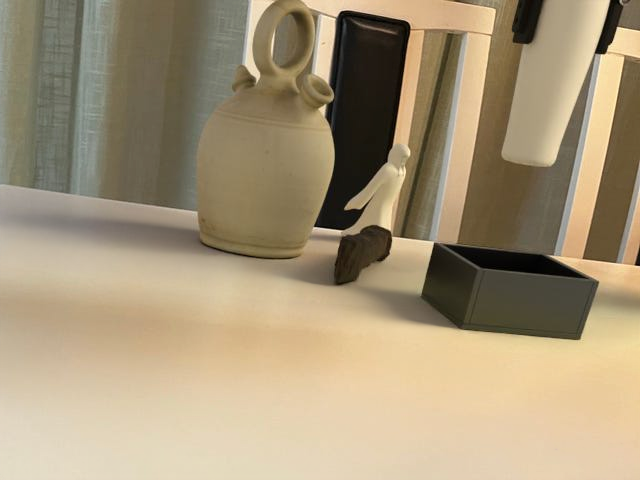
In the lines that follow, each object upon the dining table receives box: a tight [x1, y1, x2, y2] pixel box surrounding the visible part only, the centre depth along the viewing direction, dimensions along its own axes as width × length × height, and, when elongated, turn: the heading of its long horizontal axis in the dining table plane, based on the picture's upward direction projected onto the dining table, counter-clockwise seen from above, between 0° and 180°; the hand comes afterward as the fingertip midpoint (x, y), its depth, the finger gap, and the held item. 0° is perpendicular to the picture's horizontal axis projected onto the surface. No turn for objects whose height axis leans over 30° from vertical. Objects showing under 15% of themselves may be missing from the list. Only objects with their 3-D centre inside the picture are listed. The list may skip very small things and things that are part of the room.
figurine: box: [339, 142, 411, 237], centre depth 127 cm, size 8×8×12 cm
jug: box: [195, 0, 336, 259], centre depth 112 cm, size 15×16×25 cm
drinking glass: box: [500, 0, 610, 168], centre depth 97 cm, size 7×7×15 cm
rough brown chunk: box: [333, 225, 393, 284], centre depth 111 cm, size 19×4×5 cm, turn 156°
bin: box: [420, 241, 600, 341], centre depth 100 cm, size 12×12×6 cm
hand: (558, 46), depth 95 cm, fingers closed on drinking glass, 6 cm apart
